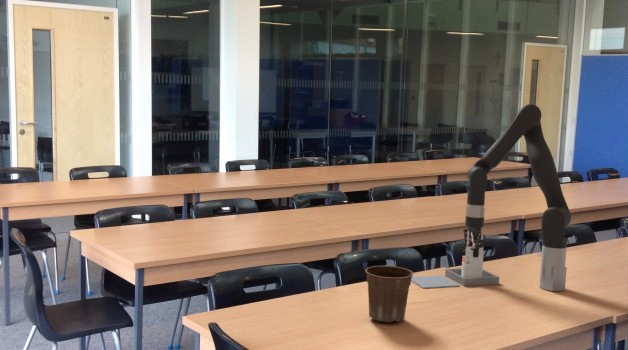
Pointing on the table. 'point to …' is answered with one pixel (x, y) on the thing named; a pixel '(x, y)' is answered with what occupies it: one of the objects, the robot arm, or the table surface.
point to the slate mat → (433, 281)
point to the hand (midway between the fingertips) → (472, 255)
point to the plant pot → (388, 292)
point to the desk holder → (484, 280)
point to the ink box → (472, 264)
